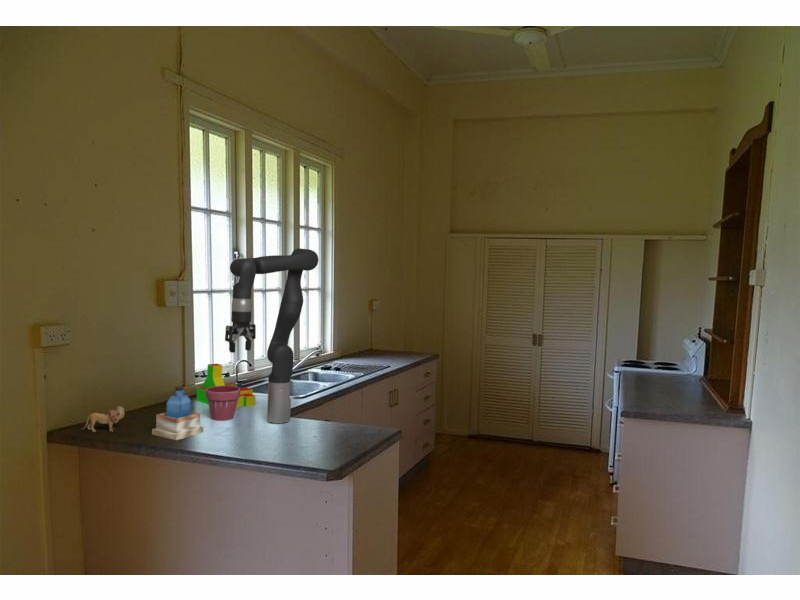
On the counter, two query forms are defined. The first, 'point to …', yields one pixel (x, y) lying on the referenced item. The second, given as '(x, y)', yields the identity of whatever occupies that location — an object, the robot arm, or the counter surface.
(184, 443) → the counter surface
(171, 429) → the pedestal
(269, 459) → the counter surface
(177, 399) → the perfume bottle
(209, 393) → the plant pot
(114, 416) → the lion figurine
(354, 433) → the counter surface
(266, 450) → the counter surface
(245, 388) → the building blocks toy
